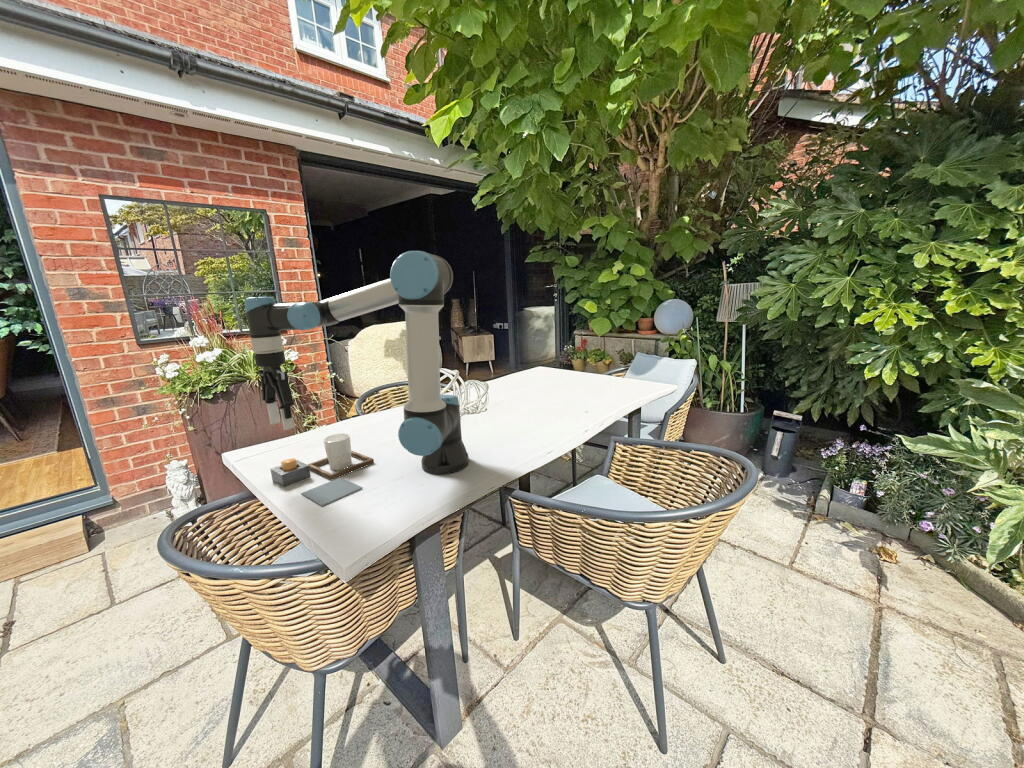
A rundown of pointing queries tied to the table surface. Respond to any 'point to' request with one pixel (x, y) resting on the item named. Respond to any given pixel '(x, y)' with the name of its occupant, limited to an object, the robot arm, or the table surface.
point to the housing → (290, 474)
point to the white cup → (338, 451)
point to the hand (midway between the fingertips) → (282, 425)
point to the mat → (331, 491)
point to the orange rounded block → (288, 464)
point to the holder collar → (330, 476)
